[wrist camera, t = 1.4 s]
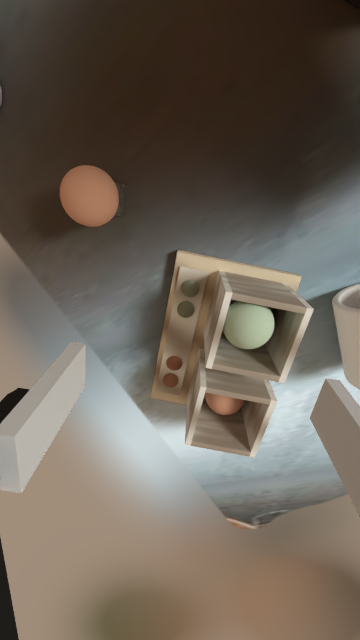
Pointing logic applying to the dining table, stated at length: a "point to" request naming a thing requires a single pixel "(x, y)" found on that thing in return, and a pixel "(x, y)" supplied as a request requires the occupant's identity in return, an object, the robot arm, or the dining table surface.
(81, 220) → the ball terracotta
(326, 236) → the dining table surface
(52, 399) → the robot arm
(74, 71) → the dining table surface
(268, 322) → the ball sage upper
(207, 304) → the rack
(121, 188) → the post
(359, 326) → the mug
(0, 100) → the pill bottle
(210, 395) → the ball terracotta in tube
